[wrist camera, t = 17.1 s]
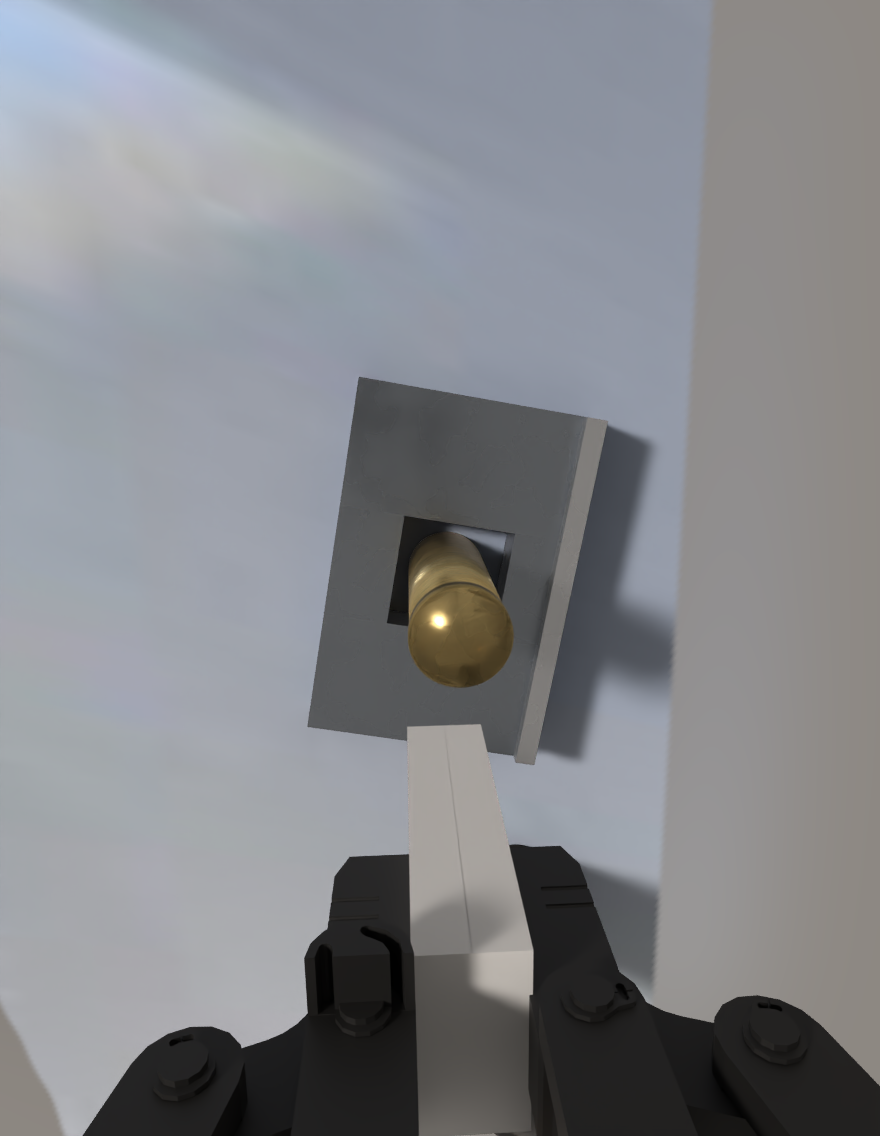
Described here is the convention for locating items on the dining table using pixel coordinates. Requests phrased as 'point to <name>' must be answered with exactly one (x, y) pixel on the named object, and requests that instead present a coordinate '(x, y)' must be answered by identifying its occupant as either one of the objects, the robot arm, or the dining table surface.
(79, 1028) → the dining table surface
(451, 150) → the dining table surface
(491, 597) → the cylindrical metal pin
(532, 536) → the jig
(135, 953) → the dining table surface
